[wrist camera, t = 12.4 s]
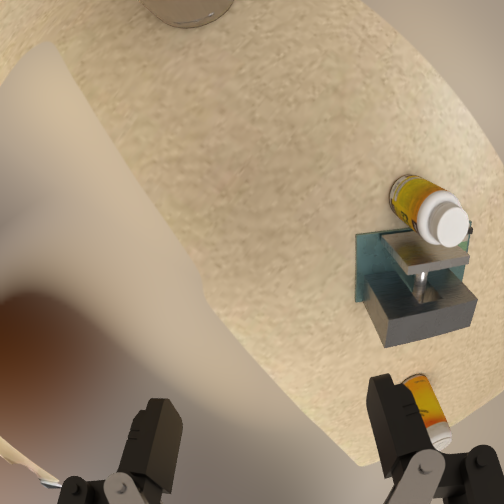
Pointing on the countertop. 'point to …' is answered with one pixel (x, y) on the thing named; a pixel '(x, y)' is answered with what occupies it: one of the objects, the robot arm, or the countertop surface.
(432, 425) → the beer can
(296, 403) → the countertop surface
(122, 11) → the countertop surface
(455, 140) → the countertop surface
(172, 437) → the robot arm
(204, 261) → the countertop surface
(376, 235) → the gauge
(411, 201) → the supplement bottle
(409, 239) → the grey plate with rod
